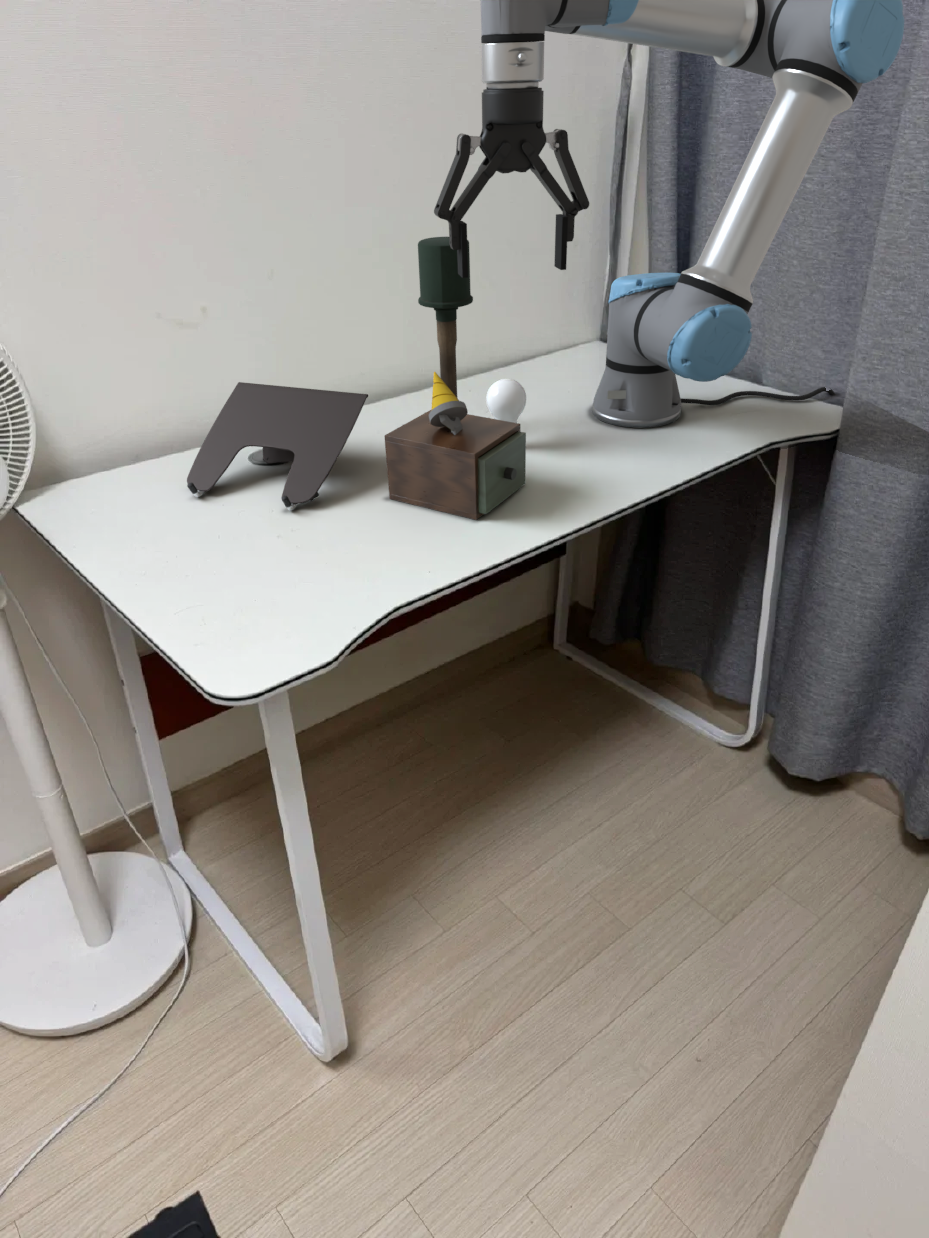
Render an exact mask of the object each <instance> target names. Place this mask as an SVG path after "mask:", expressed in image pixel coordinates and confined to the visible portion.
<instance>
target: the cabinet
mask: <svg viewBox="0 0 929 1238" xmlns="http://www.w3.org/2000/svg"><path fill="white" fill-rule="evenodd" d="M431 410H432V408H430V409H429V410H427V411H426V412H424V413H422V414H421V415H418V416H417V417H415V418H413V419H412V420H410V421H408V422H406V423H405V424H402V425H401V426H399V427H397V428H395V429H393V430H392V431H390V432H388V433H386V434H385V435H384V446H385V461H386V471H387V472H386V473H387V483H388V495H389V496H388V497H389V500H393V501H397V502H402V503H405V504H409V505H413V506H417V507H421V508H426V509H430V510H434V511H438V512H442V513H445V514H450V515H453V516H458V517H462V518H466V519H471V520H475V521H477V520H478V519H480V518H481V517H482V516H484V515H485V514H483V513H479V502H478V457H479V456H481V455H482V454H484V453H485V452H487V451H488V450H490V449H491V448H493V447H494V446H496V445H497V444H499V443H500V442H502V441H503V440H505V439H506V438H509V437H511V436H512V435H514V434H515V433H517V432H518V431H520V432H521V423H519V422H517V423H513V422H508V421H502V420H497V419H494V418H491V417H485V416H479V415H475V414H469V413H467V415H466V416H465V417H464V418H463V419H462V420H461V421H460V422H461V425H462V428H463V429H462V430H461V431H460V432H458V433H457V434H456V435H454V434H453V433H452V432H451V429H449V428H448V427H446V426H445V427H435V426H433V425H432V424H431V422H430V419H429V413H430V412H431Z"/></svg>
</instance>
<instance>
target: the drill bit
mask: <svg viewBox="0 0 929 1238" xmlns="http://www.w3.org/2000/svg"><path fill="white" fill-rule="evenodd" d="M432 378H433V380H432V383H433V384H432V393H431V394H432V395H431V409H432V410H431V409H430V410H431V412H430V413H429V419H430V422H431V424H432V425H433V426H435V427H445V426H446V427H448V428H449V429H451V432H452V433H453V434H454V435H456V434H457V433H458V432H460V431H461V430H462V429H463V428H462V425H461V422H460V421H461V420H462V419H463V418H464V417H465V416H466V415H467V414H469V413H468V411H469V410H468V408H467V404H466V403H465V402H464V401H461V400H459V399H457V398H458V396H457V397H456V396H455V395H454V394H453V393H452V391H451V390H450V389H449V388H448V387H447V385H446V384H445V383H444V382H443V381H442V379H441V377H440V376H439V374H437V372H436V371H433V377H432Z"/></svg>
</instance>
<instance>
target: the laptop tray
mask: <svg viewBox="0 0 929 1238" xmlns="http://www.w3.org/2000/svg"><path fill="white" fill-rule="evenodd" d="M368 397H369V394H367V393H358V392H348V391H337V390H327V389H318V388H317V389H316V388H306V387H296V386H284V385H275V384H262V383H252V382H244V381H243V382H242V381H239V382H237V384H236V386H235V387H234V389H233V390H232V392H231V394H229V396H228V398H227V400H226V402H225V403H224V404H223V407H222V408H221V409H220V411H219V414H218V415H217V417H216V419H215V420H214V422H213V424H212V426H211V428H210V430H209V431H208V433H207V434H206V437H205V439H204V440H203V442H202V444H201V447H200V448H199V450H198V452H197V455H196V457H195V459H194V460H193V463H192V465H191V468H190V470H189V472H188V475H187V477H186V483H187V486H186V487H187V488H188V490H189V491H190V493H191V494H192V495H193V496H194V497H196V498H199V497H201V496H202V495H203V494H204V492H206V493H207V492H209V491H211V490H212V489H213V488H214V486H215V485H216V484H217V483H218V481H219V480H220V479H221V478H222V477H223V475H224V474H225V472H226V471H227V470H228V468H229V467H230V465H231V464H232V462H233V461H234V460H235V458H236V456H237V455H238V454H239V452H241V450H243V449H245V448H248V447H258V448H262V459H263V462H264V463H266V464H272V465H273V464H279V463H281V464H282V463H291V466H290V468H289V471H288V474H287V477H286V480H285V484H284V487H283V491H282V493H281V498H280V499H281V502H282V503H283V504H284V506H285V508H286V509H287V510H288V511H294V510H295V509H296V507H297V505H299V504H305V503H308V502H309V501H310V502H313V501H314V500H315V499H316V498H319V497H320V493H319V490H320V488H321V487H322V486H323V484H324V483H325V481H326V480H327V478H328V476H329V474H330V472H331V471H332V469H333V468H334V465H335V464H336V462H337V461H338V458H339V457H340V454H341V453H342V451H343V449H344V447H345V445H346V443H347V441H348V439H349V437H350V435H351V433H352V431H353V429H354V427H355V425H356V424H357V421H358V418H359V416H360V414H361V412H362V409H363V408H364V405H365V403H366V401H367V399H368Z"/></svg>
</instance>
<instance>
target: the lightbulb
mask: <svg viewBox="0 0 929 1238" xmlns="http://www.w3.org/2000/svg"><path fill="white" fill-rule="evenodd" d="M485 396H486V397H485V402H486V403H485V405H486V407H487V409H488V411H489V413H490V415H492V417H493V419H497V420H502V421H508V422H513V423H518V420H519V418H520V417H521V415H522V414H523V412H524V410H525V408H526V405H527V393H526V389H525V388H524V387H523V385H522V384H521V383H520V382H519V381H518V380H516V379H512V378H505V377H504V378H500V379H498V380H496V381H495V382H493V383H492V384H491V385H490V386H489V388H488V390H487V392H486V394H485Z"/></svg>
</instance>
